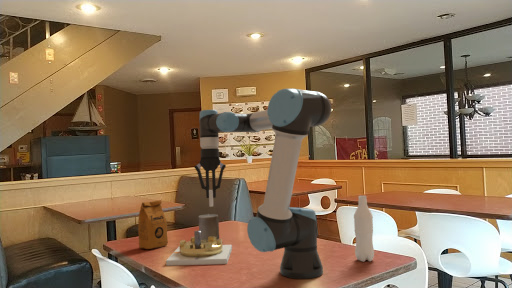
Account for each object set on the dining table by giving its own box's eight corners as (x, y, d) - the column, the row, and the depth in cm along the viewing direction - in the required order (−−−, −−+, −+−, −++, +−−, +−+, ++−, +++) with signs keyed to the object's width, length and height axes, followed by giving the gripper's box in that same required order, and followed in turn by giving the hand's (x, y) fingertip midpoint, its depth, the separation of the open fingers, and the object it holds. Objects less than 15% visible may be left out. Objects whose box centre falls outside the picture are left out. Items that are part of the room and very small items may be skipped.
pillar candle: (222, 241, 196) (221, 211, 197) (215, 246, 187) (213, 214, 188) (204, 241, 199) (202, 211, 200) (196, 246, 190) (194, 214, 190)
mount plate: (226, 263, 157) (226, 258, 157) (166, 265, 157) (166, 259, 158) (232, 249, 181) (231, 244, 181) (179, 250, 181) (179, 245, 181)
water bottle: (351, 259, 158) (349, 195, 158) (367, 256, 160) (364, 194, 161) (362, 263, 151) (360, 197, 152) (378, 261, 154) (375, 196, 154)
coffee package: (170, 246, 191) (169, 200, 191) (147, 251, 182) (146, 203, 182) (159, 243, 198) (157, 199, 198) (136, 248, 189) (135, 201, 189)
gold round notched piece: (220, 256, 160) (219, 231, 160) (175, 257, 160) (174, 232, 161) (224, 245, 178) (223, 223, 178) (184, 246, 178) (183, 224, 179)
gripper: (225, 147, 167) (227, 204, 166) (194, 148, 166) (196, 205, 165) (225, 147, 159) (227, 206, 159) (192, 148, 158) (194, 208, 158)
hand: (211, 206), depth 162 cm, fingers closed
